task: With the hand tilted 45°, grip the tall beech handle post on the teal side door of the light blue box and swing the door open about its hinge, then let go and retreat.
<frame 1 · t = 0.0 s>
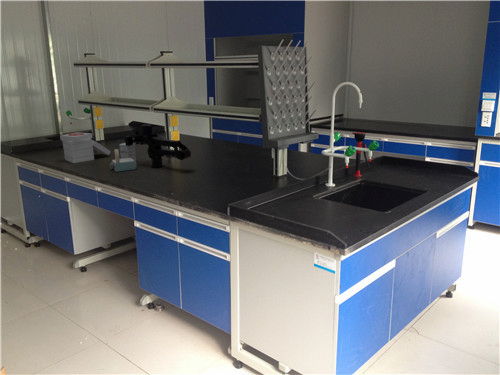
hand: (128, 138, 290), 17 cm above the countertop, tool horizontal, fingers open, 9 cm apart
supplement box: (128, 162, 296), on the countertop
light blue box: (124, 168, 277), on the countertop
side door: (125, 159, 270), point 7 cm above the countertop, hinge at 0.0°
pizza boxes: (87, 158, 309), on the countertop
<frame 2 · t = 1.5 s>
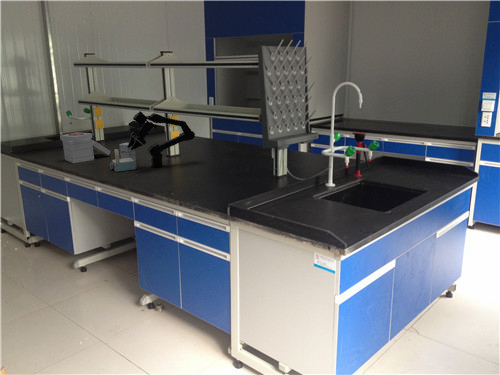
hand: (129, 148, 270), 14 cm above the countertop, tool tilted 45°, fingers open, 9 cm apart
nothing on the countertop moved.
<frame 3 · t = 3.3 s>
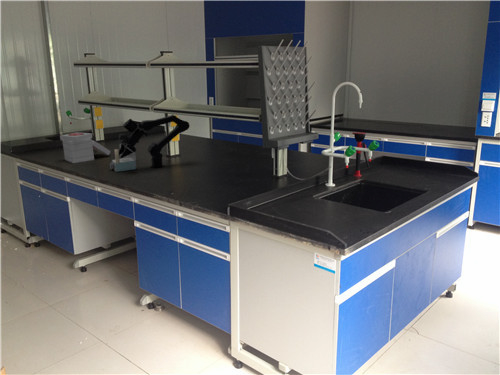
hand: (119, 156, 268), 10 cm above the countertop, tool tilted 45°, fingers open, 9 cm apart
nothing on the countertop moved.
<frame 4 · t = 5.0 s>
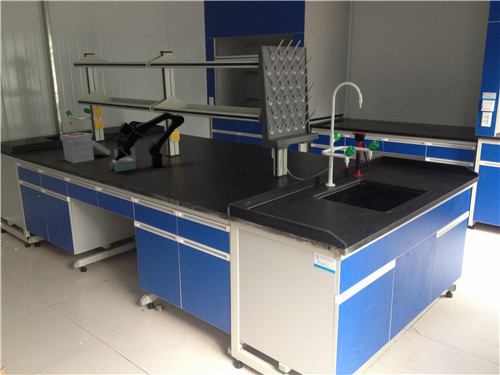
hand: (115, 160, 267), 8 cm above the countertop, tool tilted 45°, fingers closed on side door, 2 cm apart
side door: (125, 159, 270), point 7 cm above the countertop, hinge at 0.0°, touching gripper
everything else where it was.
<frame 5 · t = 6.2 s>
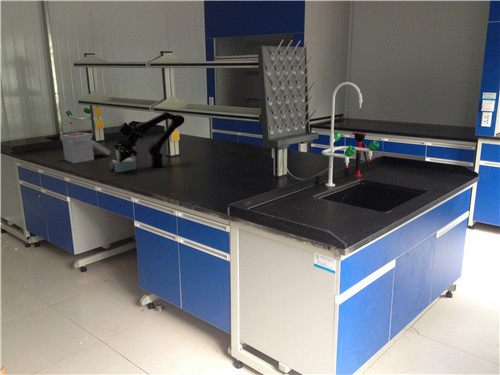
hand: (117, 161, 264), 8 cm above the countertop, tool tilted 45°, fingers open, 4 cm apart
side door: (126, 159, 269), point 7 cm above the countertop, hinge at 13.5°, touching gripper
everything else where it was.
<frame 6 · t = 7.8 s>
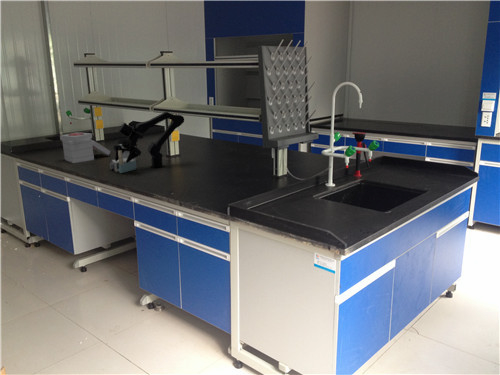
hand: (121, 161, 262), 8 cm above the countertop, tool tilted 45°, fingers open, 9 cm apart
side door: (127, 160, 268), point 7 cm above the countertop, hinge at 27.6°
everything else where it was.
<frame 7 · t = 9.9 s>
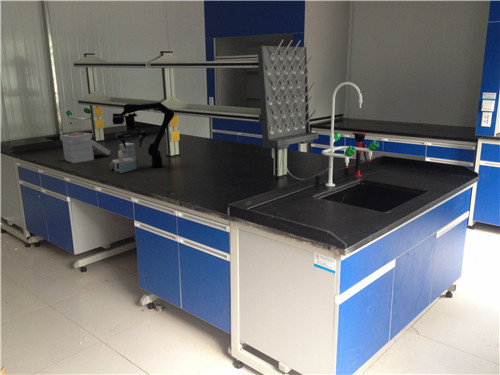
hand: (132, 148, 275), 13 cm above the countertop, tool pointing down, fingers open, 9 cm apart
nothing on the countertop moved.
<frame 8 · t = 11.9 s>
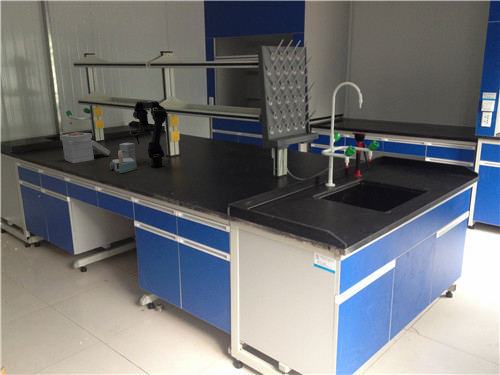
hand: (145, 143, 289), 13 cm above the countertop, tool pointing down, fingers open, 9 cm apart
nothing on the countertop moved.
at the end: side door at +28° (first picture: +0°); supplement box moved 0.2 cm from its start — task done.
